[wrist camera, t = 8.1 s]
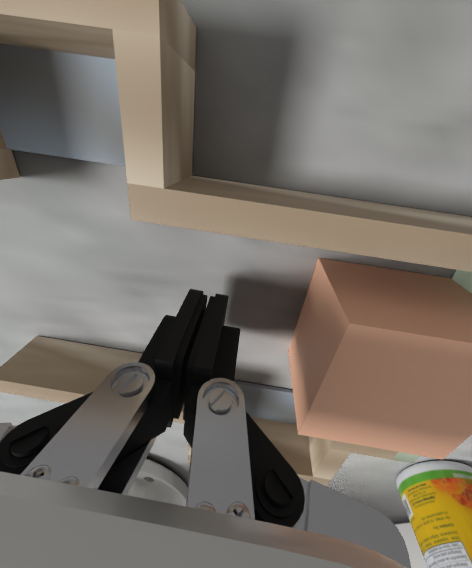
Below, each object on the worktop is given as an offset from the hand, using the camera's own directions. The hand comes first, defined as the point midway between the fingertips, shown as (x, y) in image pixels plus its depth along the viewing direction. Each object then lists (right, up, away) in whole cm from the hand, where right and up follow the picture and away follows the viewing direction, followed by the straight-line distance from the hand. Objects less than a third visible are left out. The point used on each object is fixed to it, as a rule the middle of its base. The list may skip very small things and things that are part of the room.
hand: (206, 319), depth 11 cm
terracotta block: (+7, 0, +1) cm, 7 cm away
